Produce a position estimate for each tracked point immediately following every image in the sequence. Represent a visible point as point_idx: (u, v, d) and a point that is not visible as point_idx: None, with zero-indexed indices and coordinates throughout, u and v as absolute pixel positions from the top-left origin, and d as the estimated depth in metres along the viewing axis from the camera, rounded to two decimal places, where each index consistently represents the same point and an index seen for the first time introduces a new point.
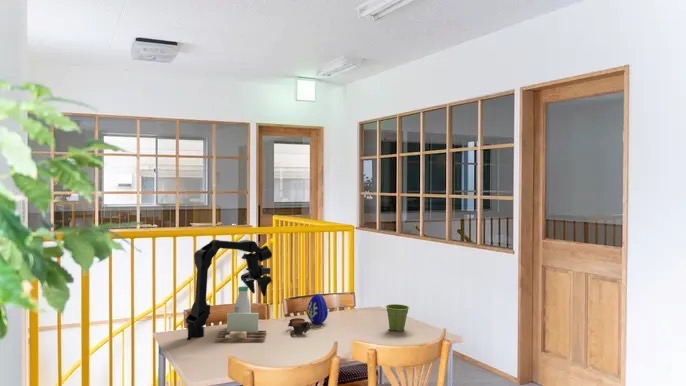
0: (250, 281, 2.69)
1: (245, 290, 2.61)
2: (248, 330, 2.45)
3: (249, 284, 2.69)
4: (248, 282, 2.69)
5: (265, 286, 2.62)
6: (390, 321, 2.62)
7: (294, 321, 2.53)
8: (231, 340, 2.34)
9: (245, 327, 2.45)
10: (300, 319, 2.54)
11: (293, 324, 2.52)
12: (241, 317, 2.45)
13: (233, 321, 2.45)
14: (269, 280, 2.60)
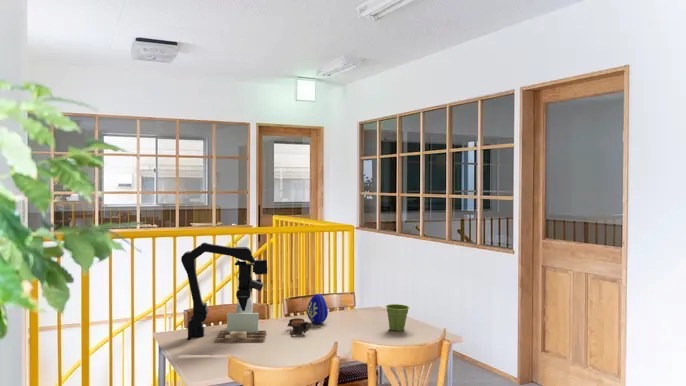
0: None
1: (249, 289, 2.62)
2: (248, 330, 2.45)
3: None
4: None
5: (245, 300, 2.41)
6: (390, 321, 2.62)
7: (294, 321, 2.53)
8: (231, 340, 2.34)
9: (245, 327, 2.45)
10: (300, 319, 2.54)
11: (293, 324, 2.51)
12: (241, 317, 2.45)
13: (233, 321, 2.45)
14: (246, 294, 2.38)
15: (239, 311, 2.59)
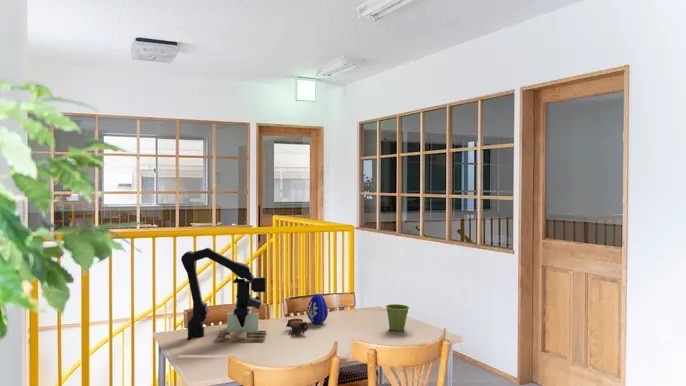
0: None
1: None
2: (248, 330, 2.45)
3: None
4: None
5: (243, 316, 2.44)
6: (390, 321, 2.62)
7: (292, 321, 2.52)
8: (231, 340, 2.34)
9: (245, 327, 2.45)
10: (298, 319, 2.53)
11: (291, 324, 2.51)
12: None
13: (233, 321, 2.45)
14: (243, 312, 2.37)
15: None
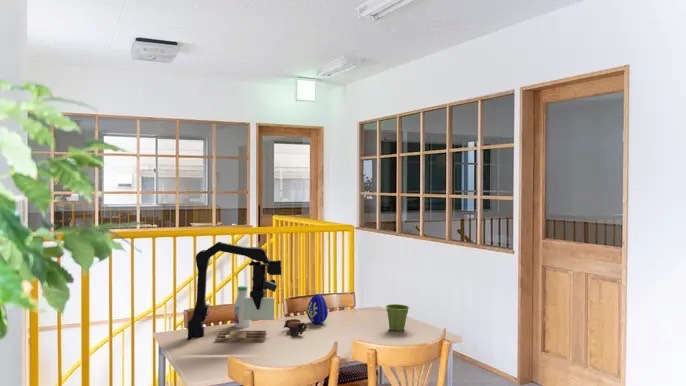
0: None
1: (245, 289, 2.61)
2: (264, 315, 2.46)
3: None
4: None
5: (259, 299, 2.44)
6: (390, 321, 2.62)
7: (290, 322, 2.51)
8: (231, 340, 2.34)
9: (261, 312, 2.46)
10: (296, 320, 2.52)
11: (289, 325, 2.49)
12: None
13: (249, 305, 2.45)
14: (260, 295, 2.37)
15: (238, 312, 2.59)
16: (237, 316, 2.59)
